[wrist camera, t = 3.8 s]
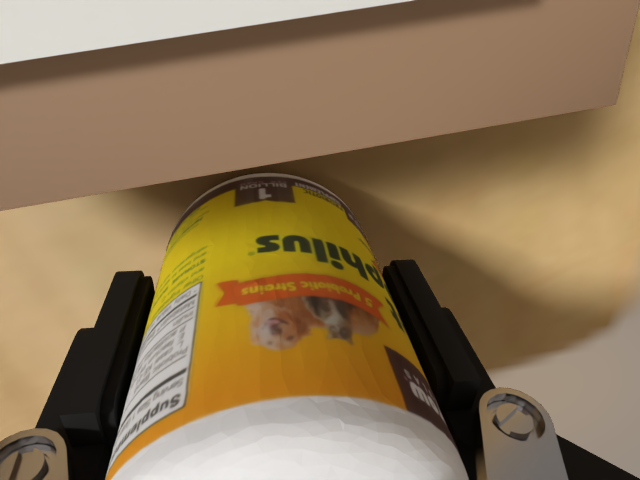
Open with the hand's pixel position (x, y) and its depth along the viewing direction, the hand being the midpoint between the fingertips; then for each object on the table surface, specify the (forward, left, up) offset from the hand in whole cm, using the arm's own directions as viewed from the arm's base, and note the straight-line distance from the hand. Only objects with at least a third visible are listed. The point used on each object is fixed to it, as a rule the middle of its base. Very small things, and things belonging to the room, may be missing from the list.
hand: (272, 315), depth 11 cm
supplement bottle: (0, 0, -3) cm, 3 cm away
